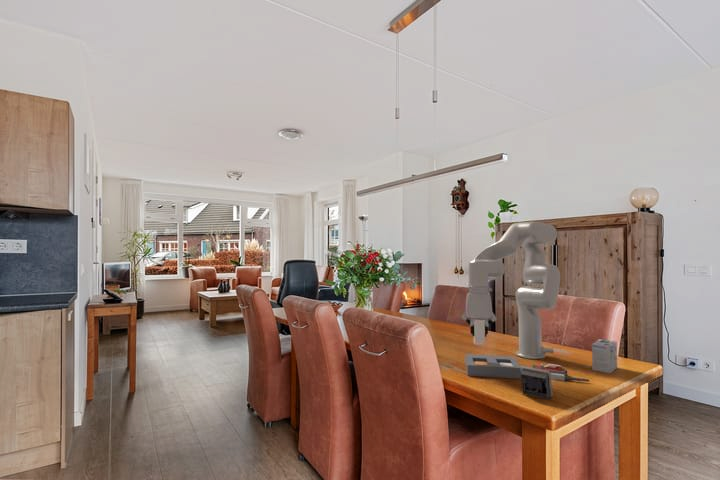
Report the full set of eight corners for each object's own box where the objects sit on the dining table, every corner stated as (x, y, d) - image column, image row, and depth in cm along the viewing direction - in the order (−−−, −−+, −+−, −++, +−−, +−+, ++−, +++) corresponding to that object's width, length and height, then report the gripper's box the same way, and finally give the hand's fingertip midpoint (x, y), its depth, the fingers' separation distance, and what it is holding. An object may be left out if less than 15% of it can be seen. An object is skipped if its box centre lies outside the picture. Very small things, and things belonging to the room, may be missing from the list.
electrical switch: (553, 396, 124) (551, 369, 124) (549, 403, 120) (548, 374, 119) (523, 390, 130) (522, 364, 129) (519, 396, 126) (517, 369, 125)
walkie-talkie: (528, 377, 144) (589, 385, 135) (528, 365, 144) (589, 373, 135) (529, 371, 152) (587, 378, 143) (529, 360, 152) (587, 366, 143)
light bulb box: (599, 364, 159) (598, 338, 159) (618, 367, 154) (617, 341, 154) (591, 370, 151) (591, 343, 151) (611, 373, 146) (610, 346, 147)
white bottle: (483, 342, 154) (483, 313, 154) (485, 345, 150) (484, 314, 151) (473, 342, 155) (473, 312, 155) (474, 344, 151) (474, 314, 151)
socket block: (514, 366, 157) (514, 355, 157) (522, 378, 141) (522, 367, 142) (465, 363, 161) (464, 353, 161) (467, 375, 146) (467, 364, 146)
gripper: (498, 290, 155) (499, 334, 155) (457, 289, 159) (457, 333, 158) (501, 292, 148) (502, 338, 147) (457, 291, 151) (458, 336, 151)
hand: (479, 335), depth 153 cm, fingers closed on white bottle, 4 cm apart
